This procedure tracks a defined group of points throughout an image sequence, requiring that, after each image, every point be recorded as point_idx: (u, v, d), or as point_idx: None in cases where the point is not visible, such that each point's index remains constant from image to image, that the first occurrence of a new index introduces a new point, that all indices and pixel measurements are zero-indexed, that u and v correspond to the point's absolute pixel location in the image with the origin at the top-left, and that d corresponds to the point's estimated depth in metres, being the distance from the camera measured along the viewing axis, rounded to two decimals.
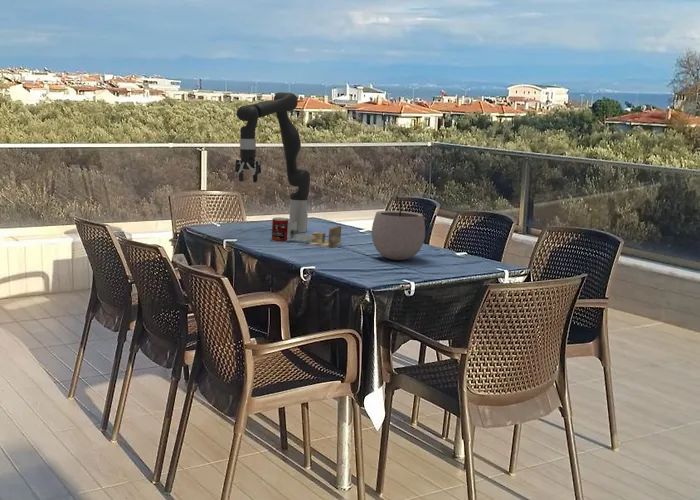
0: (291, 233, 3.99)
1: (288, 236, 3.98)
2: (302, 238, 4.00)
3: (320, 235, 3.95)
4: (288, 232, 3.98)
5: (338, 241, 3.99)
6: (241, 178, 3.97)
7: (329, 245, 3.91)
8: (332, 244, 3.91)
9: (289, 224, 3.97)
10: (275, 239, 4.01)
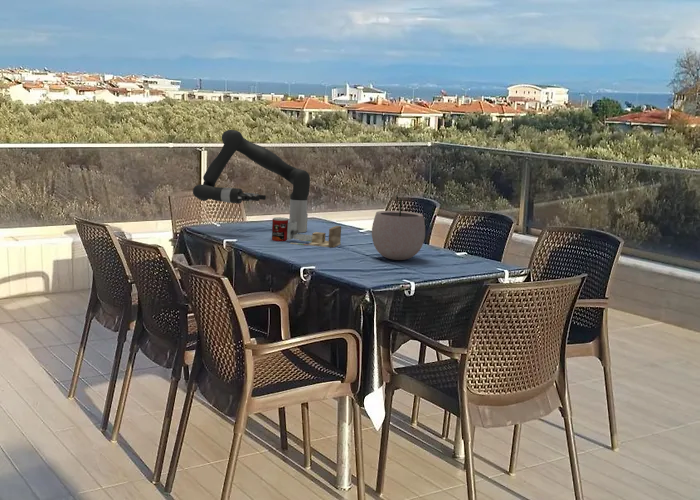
0: (291, 233, 3.99)
1: (288, 236, 3.98)
2: (302, 238, 4.00)
3: (320, 235, 3.95)
4: (288, 232, 3.98)
5: (338, 241, 3.99)
6: (262, 198, 4.08)
7: (329, 245, 3.91)
8: (332, 244, 3.91)
9: (289, 224, 3.97)
10: (275, 239, 4.01)
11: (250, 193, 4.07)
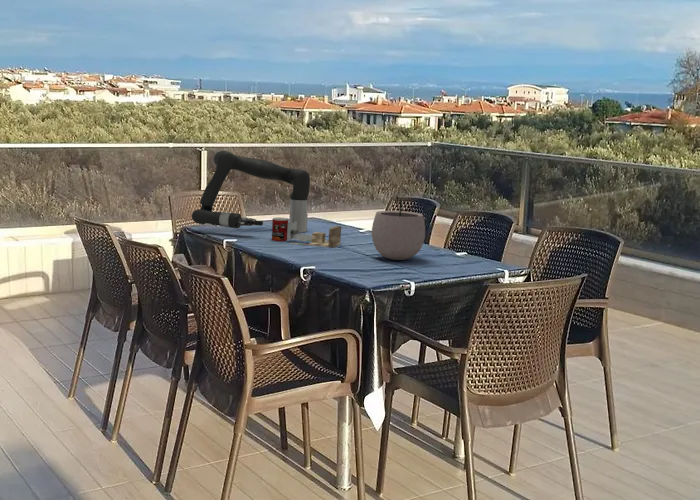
0: (291, 233, 3.99)
1: (288, 236, 3.98)
2: (302, 238, 4.00)
3: (320, 235, 3.95)
4: (288, 232, 3.98)
5: (338, 241, 3.99)
6: None
7: (329, 245, 3.91)
8: (332, 244, 3.91)
9: (289, 224, 3.97)
10: (275, 239, 4.01)
11: (247, 218, 4.08)
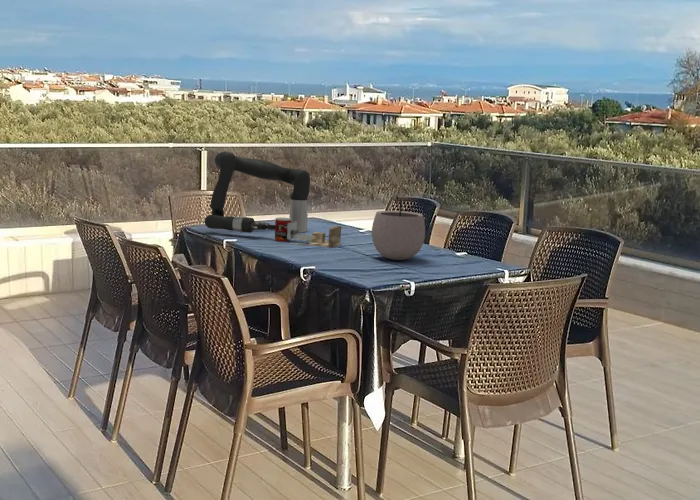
0: (291, 233, 3.99)
1: (288, 236, 3.98)
2: (302, 238, 4.00)
3: (320, 235, 3.95)
4: (288, 232, 3.98)
5: (338, 241, 3.99)
6: None
7: (329, 245, 3.91)
8: (332, 244, 3.91)
9: (289, 224, 3.97)
10: (278, 239, 4.00)
11: (260, 222, 4.06)
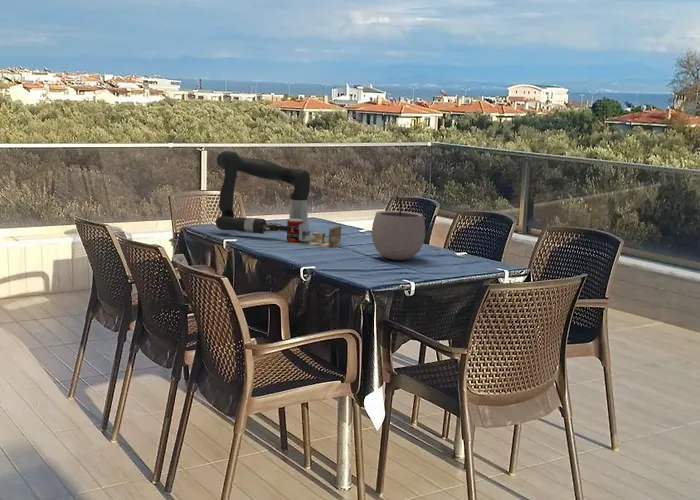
0: (303, 234, 3.97)
1: (300, 238, 3.96)
2: None
3: (320, 235, 3.95)
4: (300, 233, 3.96)
5: (338, 241, 3.99)
6: None
7: (329, 245, 3.91)
8: (332, 244, 3.91)
9: (301, 225, 3.95)
10: (291, 240, 3.99)
11: (272, 223, 4.05)
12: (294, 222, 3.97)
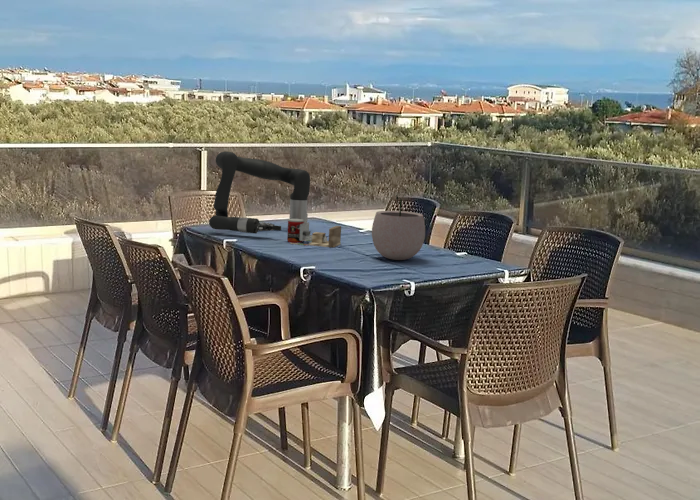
0: (303, 234, 3.97)
1: (300, 238, 3.96)
2: None
3: (320, 235, 3.95)
4: (300, 233, 3.96)
5: (338, 241, 3.99)
6: None
7: (329, 245, 3.91)
8: (332, 244, 3.91)
9: (301, 225, 3.95)
10: (291, 241, 3.99)
11: (265, 223, 4.06)
12: (295, 222, 3.97)
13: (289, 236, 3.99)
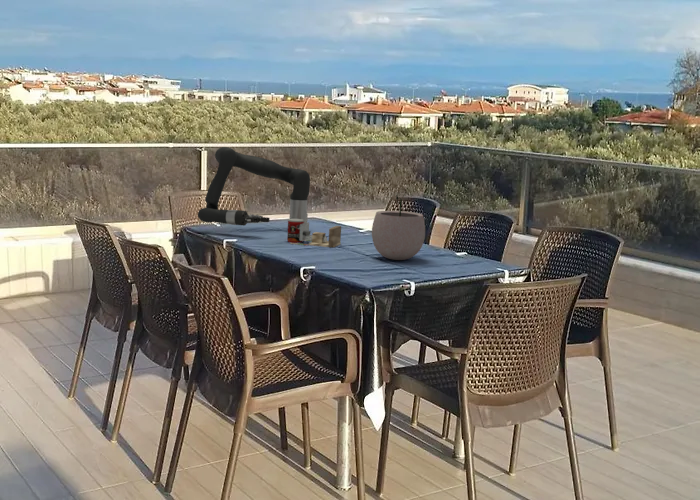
0: (303, 234, 3.97)
1: (300, 238, 3.96)
2: None
3: (320, 235, 3.95)
4: (300, 233, 3.96)
5: (338, 241, 3.99)
6: None
7: (329, 245, 3.91)
8: (332, 244, 3.91)
9: (301, 225, 3.95)
10: (291, 241, 3.99)
11: (254, 215, 4.07)
12: (295, 222, 3.97)
13: (289, 236, 3.99)
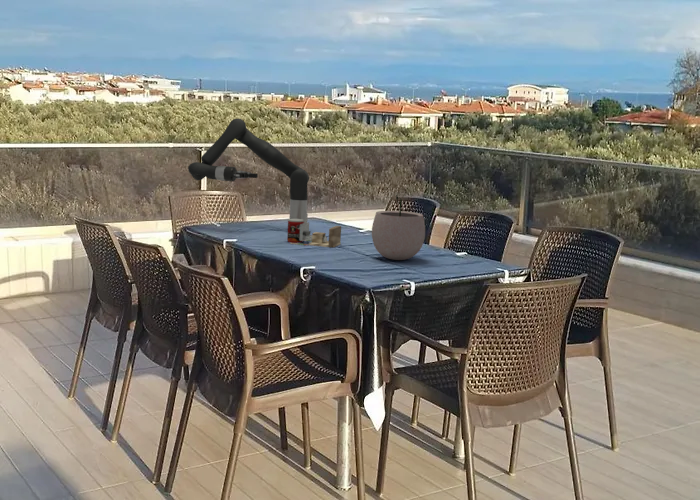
0: (303, 234, 3.97)
1: (300, 238, 3.96)
2: None
3: (320, 235, 3.95)
4: (300, 233, 3.96)
5: (338, 241, 3.99)
6: None
7: (329, 245, 3.91)
8: (332, 244, 3.91)
9: (301, 225, 3.95)
10: (291, 241, 3.99)
11: (242, 171, 4.18)
12: (295, 222, 3.97)
13: (289, 236, 3.99)
